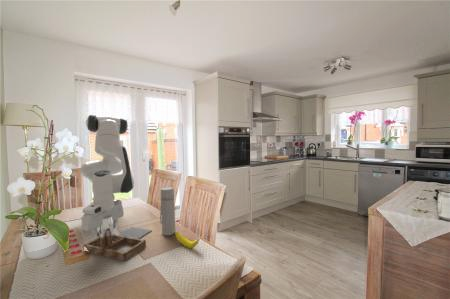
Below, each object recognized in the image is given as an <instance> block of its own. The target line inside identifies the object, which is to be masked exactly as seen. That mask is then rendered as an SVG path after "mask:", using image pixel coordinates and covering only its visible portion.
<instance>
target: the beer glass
mask: <svg viewBox="0 0 450 299" xmlns="http://www.w3.org/2000/svg"><path fill="white" fill-rule="evenodd" d="M96 232H99V236H98V238H99V240H100V244H99V245H98V247H102V248H105V247H107V246H109V245H111V244H112V243H114V241H112V234H113V232H114V229H113V218H112V215H111V217H109V218H106V219H102V226H100V227H98V228H97V230H96Z"/></svg>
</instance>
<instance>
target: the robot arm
mask: <svg viewBox="0 0 450 299" xmlns="http://www.w3.org/2000/svg"><path fill="white" fill-rule="evenodd" d="M85 124H86V128H87V130H88V131H89V132H92V133H95V143H94V151H95V154H97V155H99V156H101V157H102V159H98V160H89V161H86V162H83V163H82V164H81V165H80V170H79V172H80V174H81V176H83V177H84V178H86V180H87V179H88V180H89V181H90V182H91V183H92V185H91V190H92V193H93V197H92V198H91V199H92V202H91V203H90V204H88V205H87V206H85V207H83V209H82V213H83V215H82V217H81V220H82V221H81V226H82V227H81V228H82V230H83V231H84V232H91V233H92V234H93V237H94V238H99V232H97V228H98V227H100V226H102V219H106V218H109V217H111V215H112V218H113V230H115V229H116V228H117V223H118V221H119V219H121V218H123V217H124V214H125V212H124V207H123V203H122V200H120V199H115V194H119V193H121V194H126V193H127V194H128V193H130V192H131V191H133V190H134V188H135V180H134V177H133V175H132V174H133V173H132V171H131V166H130V165H131V164H130V160H129V156H128V151H127V148H126V146H123V145H122V143H121V140H120V135H123V134H125V133H126V132H127V130H128V127H129V125H128V120H127V119H126V118H124V117H121V116H120V117H119V116H114V115H109V114H108V115H104V114H94V113H93V114H90V115H88V117H87V118H86V120H85ZM121 172H122V173H121ZM119 173H120V174H119Z"/></svg>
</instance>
